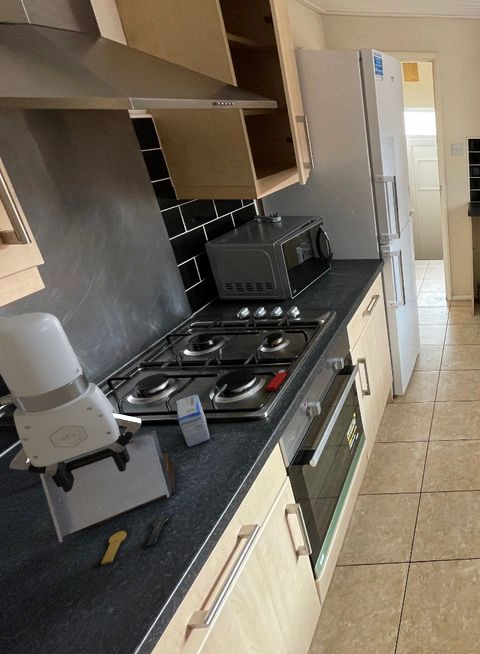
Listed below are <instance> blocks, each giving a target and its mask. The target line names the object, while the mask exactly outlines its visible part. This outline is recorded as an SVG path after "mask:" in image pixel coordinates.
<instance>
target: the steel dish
mask: <svg viewBox="0 0 480 654" xmlns="http://www.w3.org/2000/svg"><path fill="white" fill-rule="evenodd" d="M125 447H126V449H127V451H128V454H129V456H130V461H129V462H127V463H126V470H125V471H123V472H121V471H120V472H119V470H118V468H117V466H116V464H115V461H114V459H113V457H112V453H113V450H111V449H110V448H108V447H106V446H105V447H102V448H99V449H97V450H94V451H91V452H88V453H85V454H82V455H79V456H76V457H73V458H70V459H67V460H64V463H66V467H67V470H68V471H71V473H72V474H73V476H74V483H73V486H72V490H70V491H69V492H66V493H65V492H64V490H63V488H62V487H57V485H56V484H55V482H54V480H53V479H52V477H47V476H46V475H45V474H42V473H38V474H39V476H40V480H41V483H42V487H43V491H44V494H45V498H46V501H47V505H48V507H49V511H50V514H51V518H52V522H53V525H54V528H55V531H56V535H57V538H58V542H59V543H63V542H64V541H65V539H67V537H68V536H69V535H71V534H73V533H76V532H78V531H80V530H83V529H85V528H89V527H88V526H90V525H93V524H95V523H97V522H100V521H102V520H105V519H107V518H110V517H112V516H114V515H117V514H119V513H122V512H124V511H127V510H129V509H131V508H134V507H136V506H139V505H141V504H143V503H146V502H148V501H151V500H153V499H156V498H158V497H160V496H163V495H165V494H166V495H167V496H166V498H168V499H169V498H170V497H171V495H172V494H171V493H172V488H171V484H170V481H169V477H168V474H167V470H166V467H165V463H164V460H163V456H162V455H163V453H162V450H161V446H160V442H159V439H158V436H157V432H156V430H152V431H148V432H146V433H143V434H140V435H137V436H134V437H132V438H131V439H130V441H129V442H128V443H127V444H126V446H125Z"/></svg>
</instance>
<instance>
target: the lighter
mask: <svg viewBox="0 0 480 654" xmlns="http://www.w3.org/2000/svg"><path fill="white" fill-rule="evenodd" d="M288 375H289V373H288V371H286V369H280V370H278V372H277V373H276V375H275V376H274V377H273V378H272V380H270V382H269V383H268V385H267V386H266V387H265V391H267V392H275V391H277V389H278V388H279V386H280V385H281V384H282V383H283V381H285V379H286V377H287V376H288Z"/></svg>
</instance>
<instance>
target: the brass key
mask: <svg viewBox="0 0 480 654" xmlns="http://www.w3.org/2000/svg"><path fill="white" fill-rule="evenodd" d="M127 535H128V534H127V532H126V531H125V530H120V531H117V532H115V533H113V534H112V535H111V536H110V537H109V538H108V543H109V545H108V548H107V550H106V551H105V554H104V556H103V558H102V561H101V562H100V563H101V565H102V566H103V565H106V564H109V563H112V562H113V561H114V559H115V556H116V554H117V552H118V550H119V547H120V545H121V543H122V542H123V541H125V539H126V538H127Z"/></svg>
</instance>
